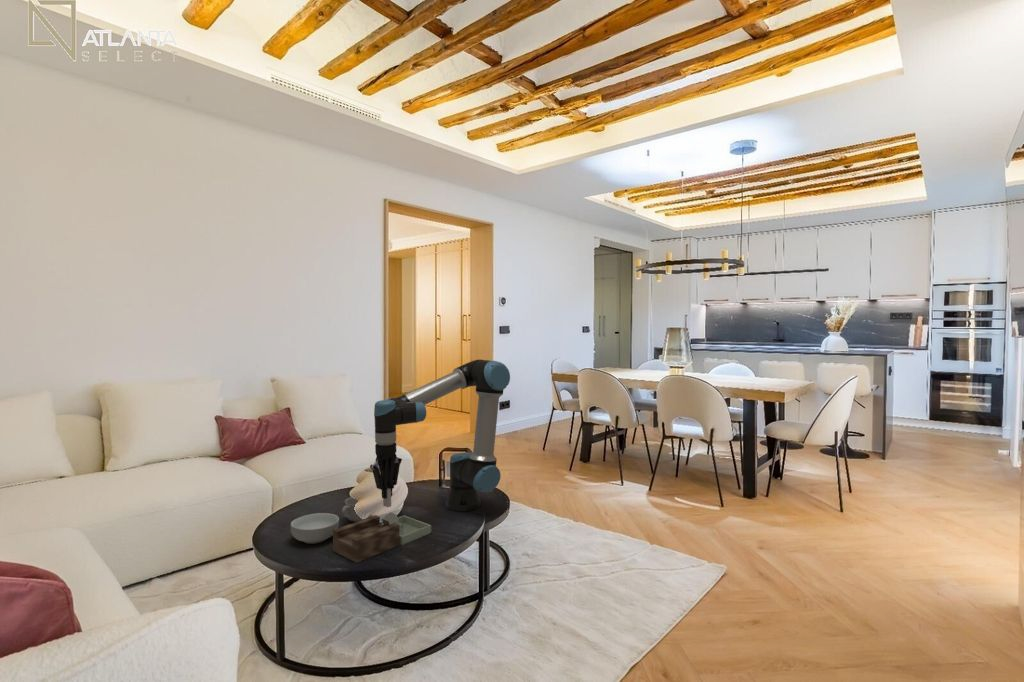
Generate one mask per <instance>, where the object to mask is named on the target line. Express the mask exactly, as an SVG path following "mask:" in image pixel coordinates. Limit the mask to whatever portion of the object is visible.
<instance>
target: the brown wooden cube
mask: <svg viewBox="0 0 1024 682" xmlns="http://www.w3.org/2000/svg"><path fill="white" fill-rule="evenodd" d="M398 517H399V516H398V515H397V514H395V513H393V512H391V511H389V512H388V513H386V515H385V516H384V517H382V518H381V520H382V523H383V524H384V525H385V526H388V525H391V524H393V523H397V524H400V523H399V520H398Z"/></svg>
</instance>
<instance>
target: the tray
mask: <svg viewBox="0 0 1024 682" xmlns="http://www.w3.org/2000/svg"><path fill="white" fill-rule="evenodd" d="M397 517H398V520H399V522H400V523H402V524H404V535H400V534H399V539H400V545H401V546H404V545H406V544H409V543H411V542H413V541H416V540H418V539H420V538H422V537H425V536H428V535H430V534H432V525H431V524H429V523H426V522H423V521H421V520H417V519H415V518H412V517H410V516H407V515H405V514H404V515H401V516H397ZM381 524H382V525H384V524H383V522H382V523H381Z"/></svg>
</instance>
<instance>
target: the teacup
mask: <svg viewBox="0 0 1024 682" xmlns="http://www.w3.org/2000/svg"><path fill="white" fill-rule="evenodd" d="M352 497H353V496H351V497H348V498H346V499H345V500H344V506H343V507H342V509H341V515H342V516H343V517H345V518H346V519H347V520H349V521H350V522H352V523H355V522H358V521H361V520H362V519H361V518H360V517H359V516H358V515H357V514H356V512H355V510H354V507H355V504H356V503H357V501H358V500H356V499H353V498H352Z"/></svg>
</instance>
